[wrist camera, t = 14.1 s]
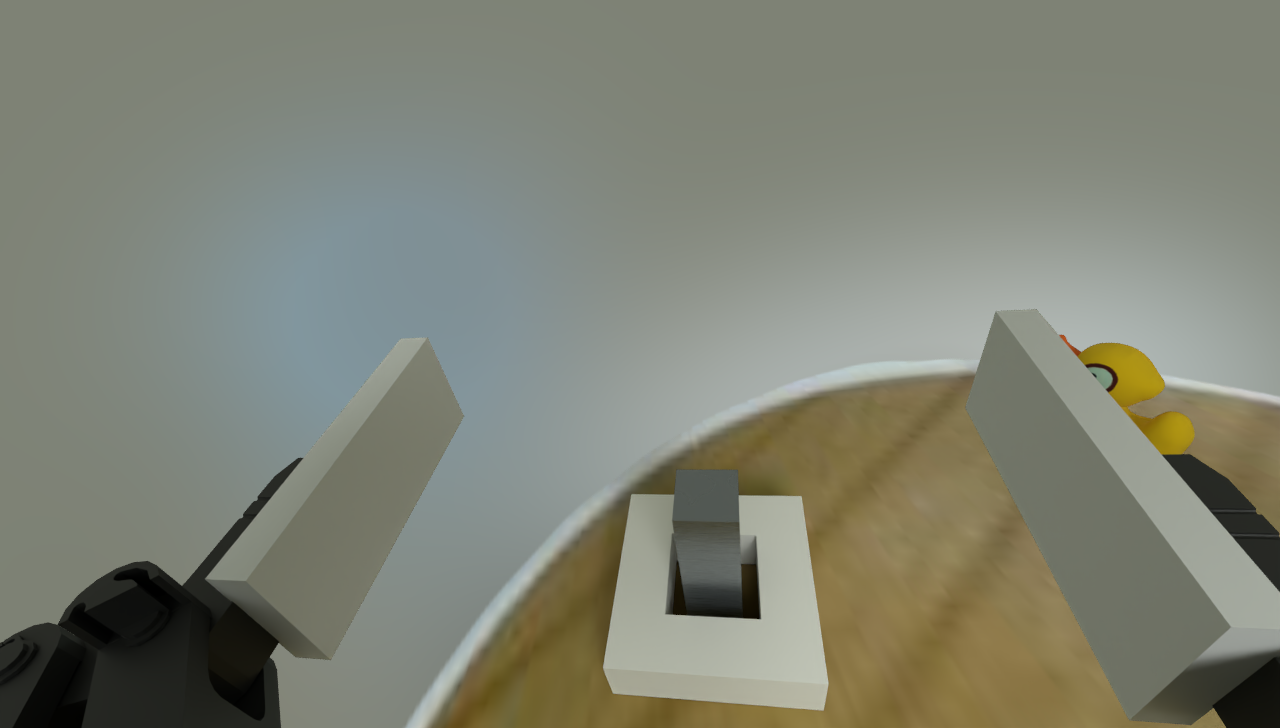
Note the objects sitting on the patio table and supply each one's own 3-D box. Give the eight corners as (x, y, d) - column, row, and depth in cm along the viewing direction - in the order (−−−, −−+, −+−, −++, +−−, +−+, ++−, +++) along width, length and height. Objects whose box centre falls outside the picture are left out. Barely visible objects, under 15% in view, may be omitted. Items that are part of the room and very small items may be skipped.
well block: (799, 526, 45) (801, 496, 43) (823, 710, 34) (828, 684, 32) (638, 522, 48) (631, 494, 45) (613, 693, 37) (602, 668, 34)
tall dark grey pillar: (741, 578, 42) (737, 469, 34) (743, 628, 39) (739, 522, 31) (691, 576, 43) (676, 469, 35) (688, 625, 40) (672, 520, 32)
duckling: (1006, 418, 52) (1039, 334, 46) (1043, 397, 53) (1079, 312, 47) (1141, 498, 43) (1204, 407, 37) (1180, 469, 45) (1246, 378, 39)
